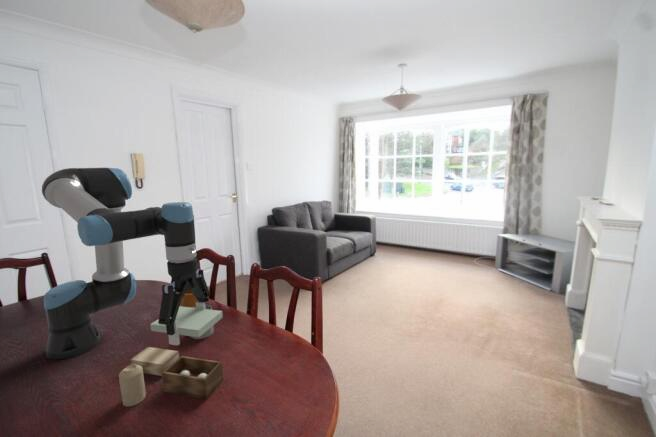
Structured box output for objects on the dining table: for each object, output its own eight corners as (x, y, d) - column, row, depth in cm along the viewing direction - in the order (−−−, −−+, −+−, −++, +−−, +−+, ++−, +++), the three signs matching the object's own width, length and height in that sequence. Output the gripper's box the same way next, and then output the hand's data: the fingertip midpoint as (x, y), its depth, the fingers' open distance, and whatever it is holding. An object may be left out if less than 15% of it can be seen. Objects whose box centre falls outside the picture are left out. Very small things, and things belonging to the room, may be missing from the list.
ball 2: (194, 387, 87) (193, 377, 87) (201, 379, 90) (200, 369, 90) (204, 388, 86) (203, 378, 86) (211, 381, 89) (210, 371, 89)
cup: (205, 340, 113) (203, 315, 111) (185, 338, 114) (183, 313, 113) (217, 328, 121) (215, 305, 119) (199, 326, 123) (197, 303, 121)
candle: (129, 392, 87) (125, 361, 85) (149, 391, 87) (145, 360, 85) (118, 407, 81) (113, 374, 80) (139, 406, 82) (135, 372, 80)
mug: (190, 301, 146) (189, 284, 145) (207, 307, 140) (206, 289, 139) (173, 308, 139) (172, 290, 137) (189, 315, 132) (188, 295, 131)
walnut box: (164, 391, 87) (162, 372, 86) (183, 373, 95) (181, 355, 94) (206, 399, 84) (205, 379, 83) (223, 379, 91) (221, 361, 90)
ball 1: (176, 383, 88) (175, 374, 88) (184, 376, 92) (183, 367, 91) (186, 385, 88) (185, 375, 87) (193, 378, 91) (192, 368, 90)
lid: (151, 330, 82) (150, 324, 82) (179, 312, 93) (178, 306, 93) (199, 337, 79) (198, 330, 79) (222, 317, 89) (222, 310, 89)
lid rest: (131, 370, 96) (130, 359, 95) (149, 357, 103) (148, 346, 102) (163, 376, 93) (162, 364, 93) (179, 362, 100) (178, 351, 99)
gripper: (161, 274, 71) (170, 359, 74) (218, 248, 93) (223, 314, 97) (135, 272, 72) (145, 355, 76) (197, 247, 95) (203, 312, 98)
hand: (189, 332), depth 86 cm, fingers closed on lid, 11 cm apart
